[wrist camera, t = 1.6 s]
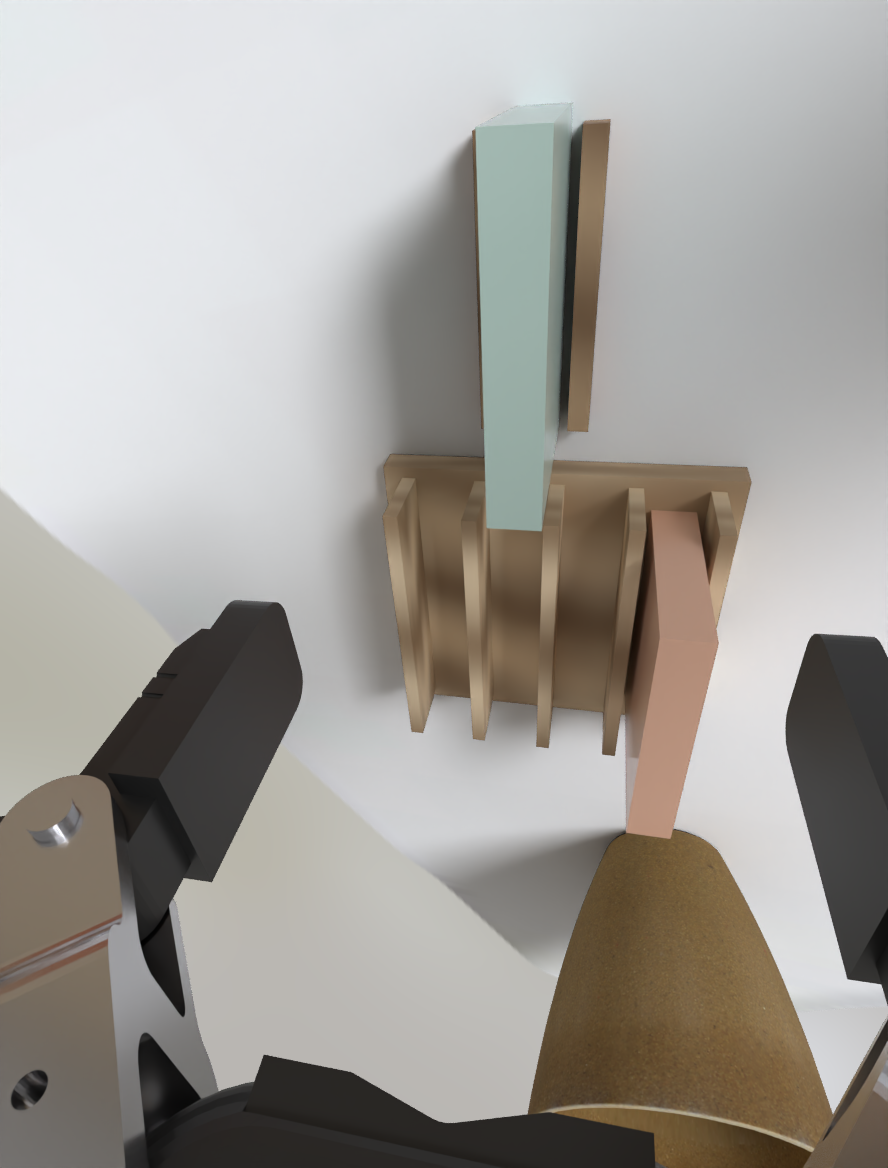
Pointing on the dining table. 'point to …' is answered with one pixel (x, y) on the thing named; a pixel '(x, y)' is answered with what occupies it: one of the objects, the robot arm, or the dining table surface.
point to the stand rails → (585, 272)
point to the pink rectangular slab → (667, 671)
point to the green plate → (522, 303)
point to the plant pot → (679, 1016)
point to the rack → (537, 580)
